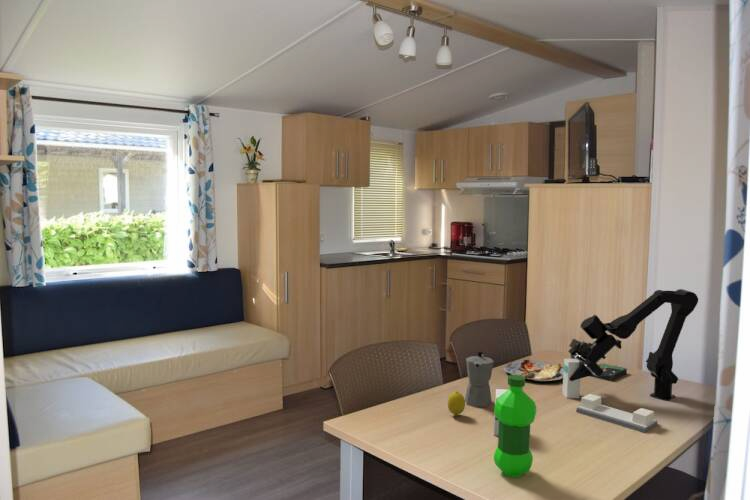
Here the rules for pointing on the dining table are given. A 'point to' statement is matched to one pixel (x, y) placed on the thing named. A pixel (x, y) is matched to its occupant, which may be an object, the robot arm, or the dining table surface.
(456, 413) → the lemon
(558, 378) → the food plate
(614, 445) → the dining table surface
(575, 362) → the block
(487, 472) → the dining table surface
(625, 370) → the disk drive
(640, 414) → the rail board
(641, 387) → the dining table surface
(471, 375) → the coffeepot
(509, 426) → the plastic bottle
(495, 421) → the ink box
